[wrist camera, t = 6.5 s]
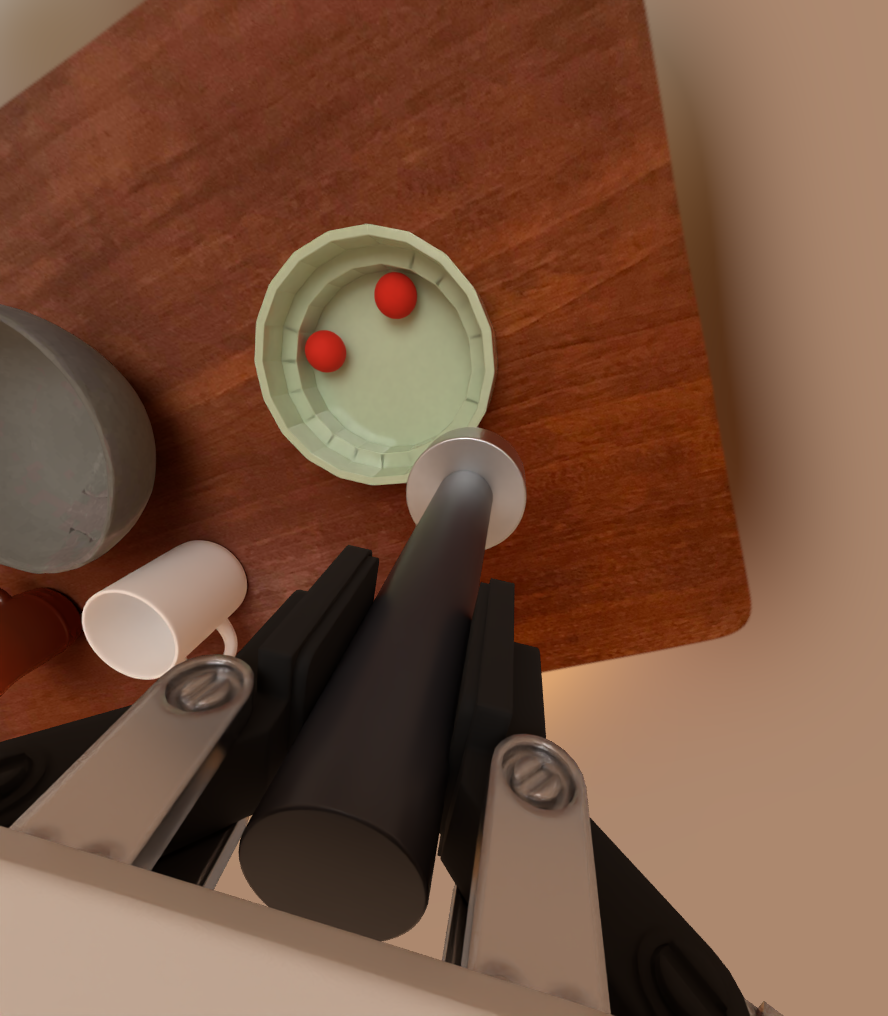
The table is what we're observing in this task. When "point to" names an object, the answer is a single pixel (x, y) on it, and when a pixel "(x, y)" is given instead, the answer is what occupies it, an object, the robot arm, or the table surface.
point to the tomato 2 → (395, 295)
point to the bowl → (66, 448)
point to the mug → (34, 631)
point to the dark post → (389, 713)
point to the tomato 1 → (325, 351)
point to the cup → (166, 609)
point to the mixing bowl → (373, 353)
